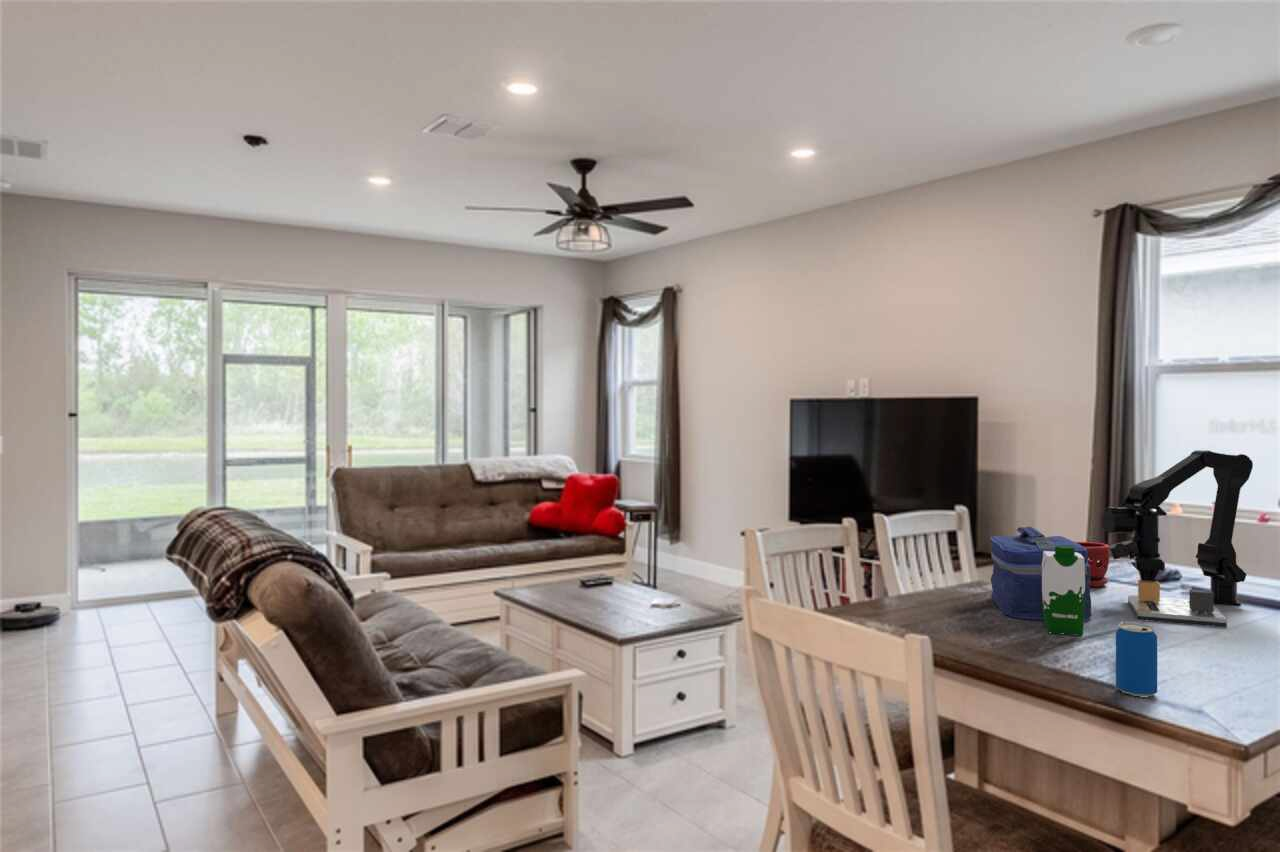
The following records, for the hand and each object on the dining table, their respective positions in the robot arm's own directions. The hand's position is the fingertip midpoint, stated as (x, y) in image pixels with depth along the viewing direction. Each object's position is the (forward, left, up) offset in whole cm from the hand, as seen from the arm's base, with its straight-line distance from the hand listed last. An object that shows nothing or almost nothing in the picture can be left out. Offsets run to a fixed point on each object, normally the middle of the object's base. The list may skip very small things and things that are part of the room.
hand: (1145, 591), depth 218 cm
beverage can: (+80, -11, -4) cm, 81 cm away
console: (+10, +5, -3) cm, 12 cm away
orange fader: (+6, 0, -2) cm, 6 cm away
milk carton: (+38, -21, -4) cm, 44 cm away
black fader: (+14, +10, -2) cm, 17 cm away
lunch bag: (+16, -26, -4) cm, 31 cm away
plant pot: (-22, -13, -4) cm, 26 cm away
